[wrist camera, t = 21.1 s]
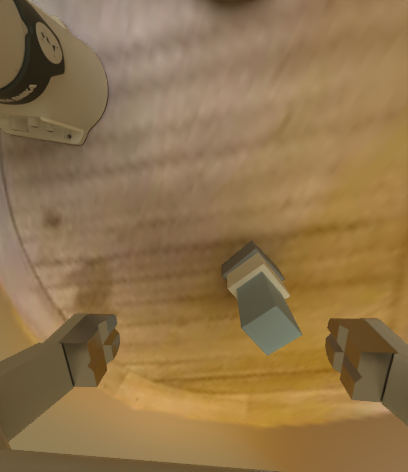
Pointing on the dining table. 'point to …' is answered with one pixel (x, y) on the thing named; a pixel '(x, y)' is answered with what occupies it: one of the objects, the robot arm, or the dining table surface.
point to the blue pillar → (266, 314)
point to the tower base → (244, 256)
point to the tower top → (251, 270)
